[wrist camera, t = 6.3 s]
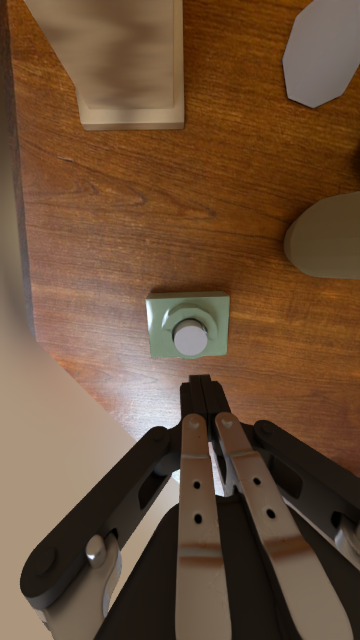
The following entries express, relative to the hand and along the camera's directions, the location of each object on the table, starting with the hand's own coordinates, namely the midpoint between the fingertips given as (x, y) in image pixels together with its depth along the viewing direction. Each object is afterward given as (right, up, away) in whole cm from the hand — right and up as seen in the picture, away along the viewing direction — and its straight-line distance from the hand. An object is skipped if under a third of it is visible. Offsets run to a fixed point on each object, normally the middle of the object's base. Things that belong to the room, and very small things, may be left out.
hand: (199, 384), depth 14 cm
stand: (-6, +29, +4) cm, 30 cm away
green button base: (0, +5, +13) cm, 14 cm away
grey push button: (0, +3, +9) cm, 9 cm away
